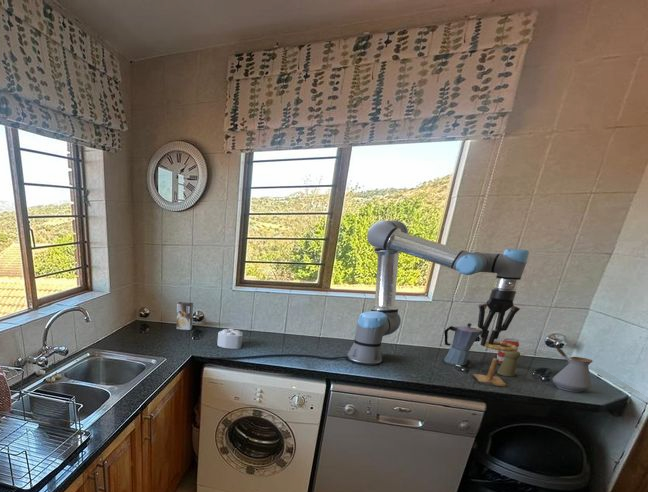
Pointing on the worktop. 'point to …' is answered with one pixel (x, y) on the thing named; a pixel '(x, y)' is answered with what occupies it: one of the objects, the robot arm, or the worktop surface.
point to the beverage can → (502, 353)
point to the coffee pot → (573, 374)
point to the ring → (506, 347)
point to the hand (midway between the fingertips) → (486, 345)
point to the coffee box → (184, 315)
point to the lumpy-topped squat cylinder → (230, 339)
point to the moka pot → (460, 344)
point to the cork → (509, 363)
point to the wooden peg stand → (491, 375)
